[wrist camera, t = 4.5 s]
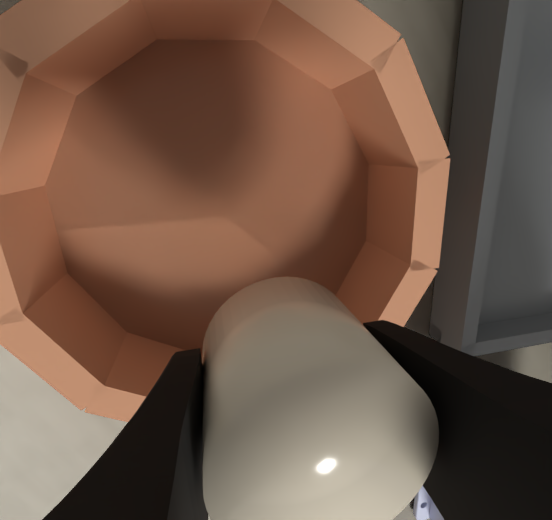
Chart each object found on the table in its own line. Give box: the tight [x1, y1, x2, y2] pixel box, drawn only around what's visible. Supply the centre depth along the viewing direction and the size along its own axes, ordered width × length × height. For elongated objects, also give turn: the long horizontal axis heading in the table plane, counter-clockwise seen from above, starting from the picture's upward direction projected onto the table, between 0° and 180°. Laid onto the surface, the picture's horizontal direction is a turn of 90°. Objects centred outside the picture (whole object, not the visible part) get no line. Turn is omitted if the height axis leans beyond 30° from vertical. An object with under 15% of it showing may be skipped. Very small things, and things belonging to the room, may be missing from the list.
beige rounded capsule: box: [202, 277, 439, 520], centre depth 8 cm, size 4×4×4 cm
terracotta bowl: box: [0, 0, 450, 422], centre depth 13 cm, size 20×20×4 cm
